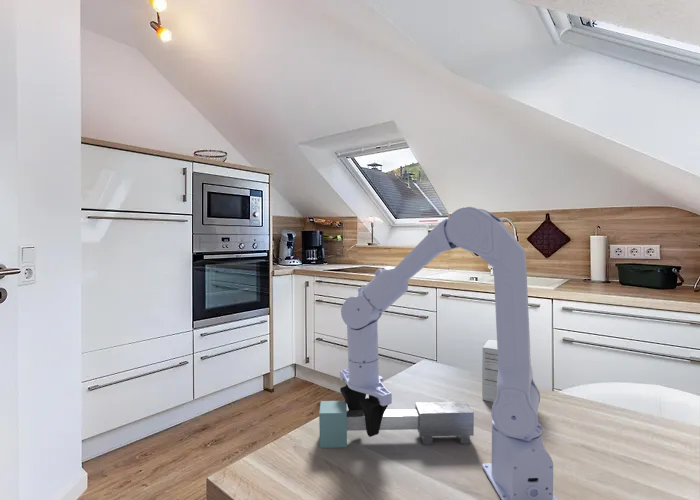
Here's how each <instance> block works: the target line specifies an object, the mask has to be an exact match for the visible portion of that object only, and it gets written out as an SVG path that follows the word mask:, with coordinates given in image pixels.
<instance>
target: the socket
mask: <svg viewBox="0 0 700 500" xmlns="http://www.w3.org/2000/svg"><path fill="white" fill-rule="evenodd" d="M347 408H348V406H347V403H346V401H345V400H320V404H319V413H318V416H319V417H318V418H319V419H318V421H319V424H318V425H319V448H320V449H325V448H329V449H331V448H348V431H347V410H348V409H347Z"/></svg>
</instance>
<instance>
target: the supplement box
mask: <svg viewBox="0 0 700 500" xmlns="http://www.w3.org/2000/svg"><path fill="white" fill-rule="evenodd" d="M481 361H482V367H481V368H482V369H481V372H482V373H481V374H482V375H481V379H482V380H481V381H482V382H481V384H482V385H481V386H482V387H481V392H482V396H481V399H482V400H483V401H487V402H491V403H494V402H495V400H496V398H497V379H498V349H497V339H488V340H487V341H486V342H485V344H484V345H483V346H482V360H481Z"/></svg>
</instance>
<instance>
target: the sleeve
mask: <svg viewBox="0 0 700 500" xmlns="http://www.w3.org/2000/svg"><path fill="white" fill-rule="evenodd" d="M414 405H415V406H414V407H415V409H417V410H418V413H419V429H416V430H417V432H418V436H419V437H420V439H421V442H422V444H423V446H429V445H430V446H431V445H432V446H433V437H457V439H458V440H459V443H460V445H470V444H471V443H470V442H471V436H472V437H473V436H475V435H474V431H475V429H474V427H475V425H474V424H475V423H474V422H475V421H474V420H475V413H474V410H473V409H472V408H471V407H470V405H469V404H468V402H467V401H436V402H434V401H433V402H432V401H431V402H430V401H429V402H426V401H425V402H424V401H423V402H415V404H414Z"/></svg>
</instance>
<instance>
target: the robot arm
mask: <svg viewBox="0 0 700 500" xmlns="http://www.w3.org/2000/svg"><path fill="white" fill-rule="evenodd" d="M458 248H461V249H463V250H466V251H468V252H471V253H473V254H477V256H478V257H480V258H481V259H482V260H484V261H485V262H486V263H487V264H488V265H490V266H491V267H492V268H493V281H494V282H493V284H494V286H493V287H494V302H495V326H496V340H497V349H498V379H497V398H496V400H495V402H493V404H492V405H491V406H492V407H491V410H490V414H491V462H486V463H482V464H481V466H482V468H483V471H484V472H485V474H486V476H487V477H488V479H489V481H490V483H491V484H492V486H493V488H494V489H495V491H496V493H497V494H498V497H499V498H500V499H501V500H559V499H558V498H557V496H556V495H555V494H554V493H553V491H554V462H553V459H552V456H550V454H549V453H548V451H547V449H546V447H545V445H544V441H543V426H542V424H541V423H540V421H539V418H538V414H539V405H540V402H541V394H540V393H541V392H540V389H538V387H537V384H536V383H535V381H534V374H533V368H532V362H531V361H532V360H531V339H530V338H531V337H530V336H531V335H530V321H529V320H530V317H529V296H528V295H529V292H528V291H529V290H528V273H527V254H526V251H525V249H524V248H523V246H522V245H521V244H520V243H519V241H518V240H517V238H515V236H514V235H513V234H512V232H511V231H510V230H509V228H508V227H507V226H506V224H505V223H504V222H503V220H502V219H501V218H499V217H498V216H496V215H494V214H493V213H491V212H490V211H488V210H486V209H482V208H476V207H472V206H462V207H461V208H457V209H456V210H455V211H453V212H452V213H451V214H450V215H449V217H448V218H445V219H443V220H442V221H440V222H439V223H438V224H436V226H435V227H434V228H433V229H431V231H429V233H428V234H427V235H426V236H424V238H423V239H422V240H421V241H419V242H418V243H417V245H416V246H415V247H413V249H412V250H411V251H410V252H409V253H408V254H407V255H406V256H405V257H404V258H403V259H402V260H401V261H400V262H399V263H398V264H397V265H396V266H394V267H393V266H385V267H384V268H377V270H376V271H374V272H373V274H374V275H375V276H374V277H373V278H372V279H371V280H370V281H369V282H368V283H367V284H365V286H360V287H359V288H358V289H357V292H358V294H357V295H353V296H349V297H347V298H346V299H345V301H344V302H343V304H342V305H341V309H340V315H341V319H342V321H343V323H344V324H345V325H346V331H347V333H346V334H347V335H346V337H347V339H346V340H347V341H346V342H347V365H348V366H347V369H343V370H340V371H339V378H340V379H339V380H340V381H341V382H345V383H346V384H345V386H342V387H340V389H339V391H340V394H341V395H342V397H343V398H344V401H346V405H347V408H348V409H347V410H363V412H364V416H365V422H366V430H365V431H366V434H367V436H368V437H369V438H371V437H373V436H376V435H379V433H380V431H381V430H380V425H381V421H382V417H383V415H384V412H385V410H387V408H388V407H389V405H391V404H392V403H393V402H392V401H393V400H392V399H393V398H392V396H393V395H392V394H393V393H392V392H391V391H389V390H388V389H387V387H385V385H384V384H383V383H382V382H384V377H383V376H381V375H380V374H379V373H380V372H379V370H380V368H379V334H378V320H379V319H381V317H382V315H383V313H384V312H385V311H386V310H387V309H389V307H391V306H392V305H393V304H394V303H395V302H397V300H399V299H400V298H401V297H402V296H403V295H404V294H406V293H407V292H408V289H409V280H411V278H413V277H414V276H415V275H417V274H418V273H419V272H420V271H421V270H422V269H424V268H425V266H428V264H429V263H431V262H432V261H433V260H434V259H435V258H437V257H438V256H439V255H441V254H442V253H443V252H448V251H451V250H455V249H458ZM367 395H368V397H367Z"/></svg>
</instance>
